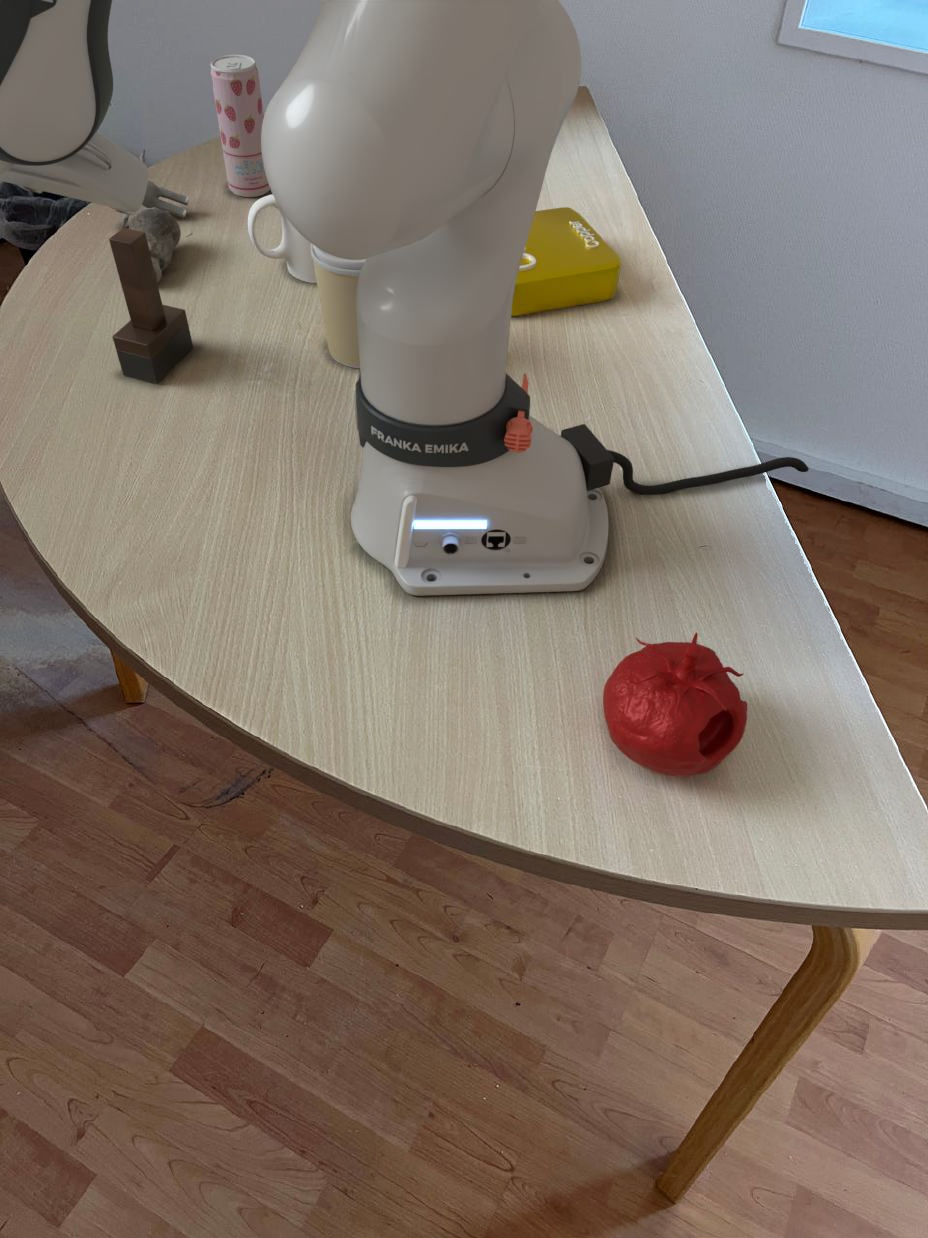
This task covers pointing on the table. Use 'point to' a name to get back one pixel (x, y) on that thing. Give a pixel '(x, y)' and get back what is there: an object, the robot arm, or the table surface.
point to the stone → (158, 236)
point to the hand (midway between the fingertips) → (83, 193)
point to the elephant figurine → (153, 201)
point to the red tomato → (674, 708)
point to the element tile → (564, 264)
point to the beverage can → (240, 123)
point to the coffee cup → (339, 304)
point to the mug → (285, 243)
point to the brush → (146, 314)
